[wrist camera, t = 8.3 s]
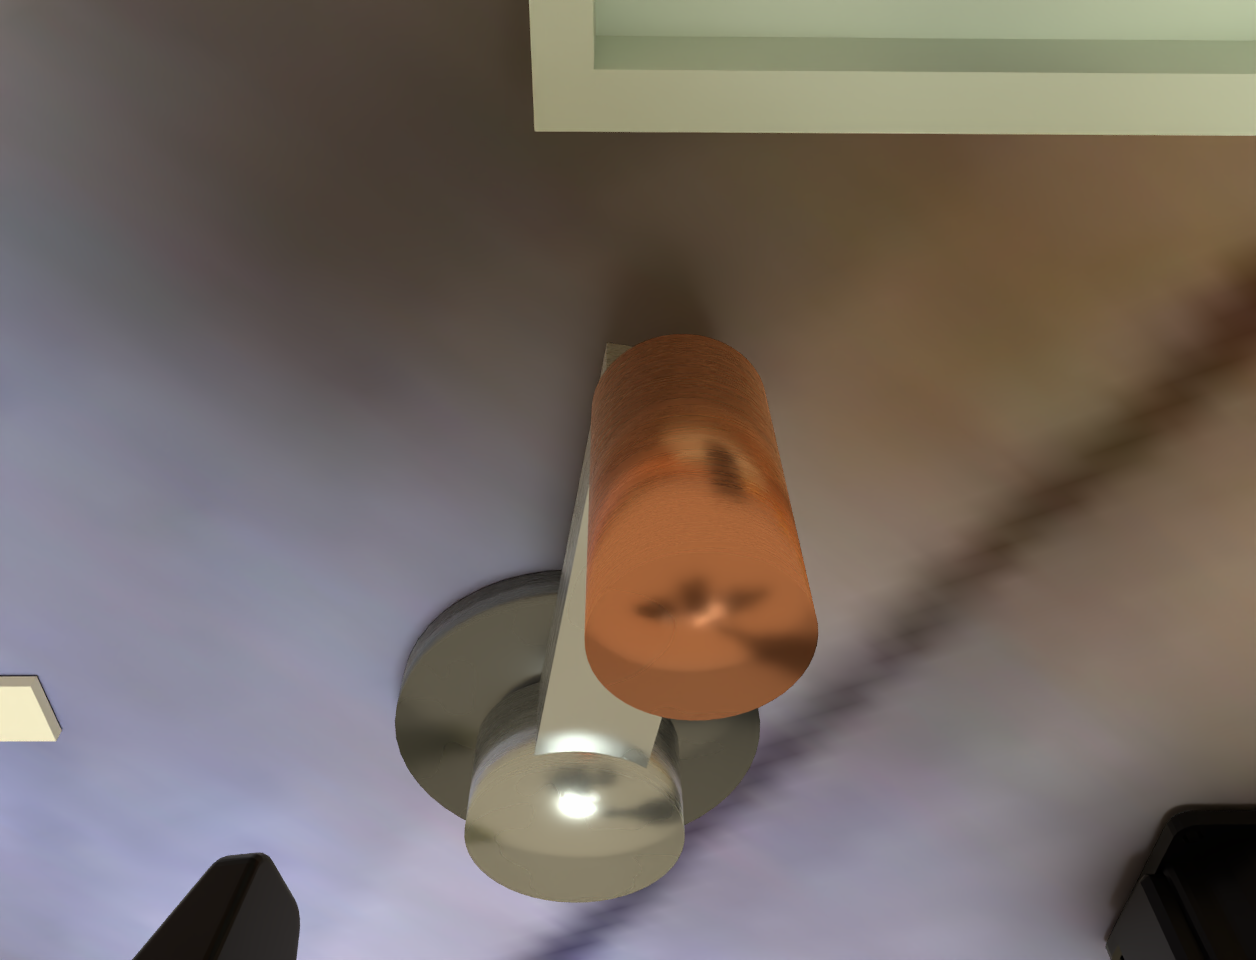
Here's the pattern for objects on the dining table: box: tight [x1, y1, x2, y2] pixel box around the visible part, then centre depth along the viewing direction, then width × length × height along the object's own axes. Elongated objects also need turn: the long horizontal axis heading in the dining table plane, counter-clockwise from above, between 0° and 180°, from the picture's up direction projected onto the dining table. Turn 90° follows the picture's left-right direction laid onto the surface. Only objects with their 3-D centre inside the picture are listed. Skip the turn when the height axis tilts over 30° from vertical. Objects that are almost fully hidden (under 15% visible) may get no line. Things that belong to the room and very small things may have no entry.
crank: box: [465, 334, 818, 902], centre depth 18 cm, size 14×4×7 cm, turn 169°
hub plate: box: [395, 571, 760, 825], centre depth 23 cm, size 8×8×1 cm
